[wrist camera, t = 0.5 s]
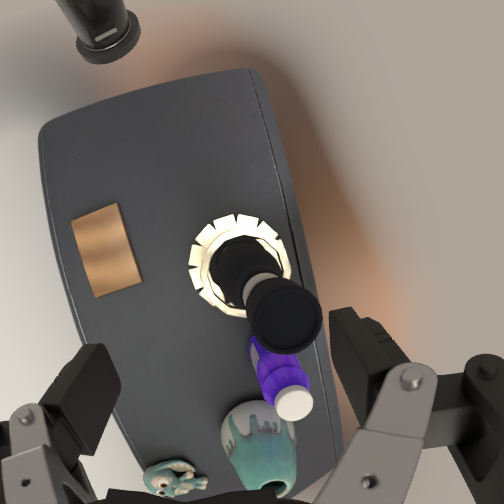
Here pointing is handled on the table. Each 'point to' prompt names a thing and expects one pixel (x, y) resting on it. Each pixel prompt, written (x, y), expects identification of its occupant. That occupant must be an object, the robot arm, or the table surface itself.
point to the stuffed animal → (172, 478)
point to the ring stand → (214, 239)
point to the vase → (260, 446)
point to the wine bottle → (268, 298)
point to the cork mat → (106, 250)
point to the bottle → (281, 382)
